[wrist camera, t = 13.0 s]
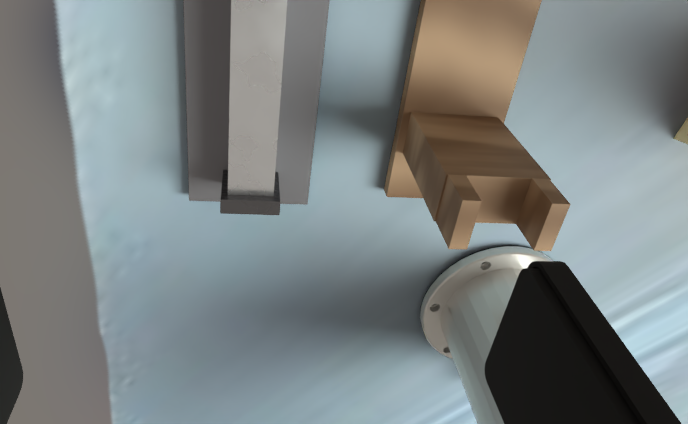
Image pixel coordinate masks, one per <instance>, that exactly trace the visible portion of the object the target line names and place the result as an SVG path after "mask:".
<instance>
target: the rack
mask: <svg viewBox="0 0 688 424" xmlns="http://www.w3.org/2000/svg"><path fill="white" fill-rule="evenodd" d="M541 1H542V0H421V2H420V7H419V12H418V17H417V22H416V27H415V33H414V38H413V43H412V48H411V53H410V58H409V63H408V69H407V74H406V79H405V84H404V89H403V94H402V99H401V104H400V110H399V115H398V120H397V125H396V130H395V135H394V140H393V146H392V151H391V156H390V161H389V166H388V171H387V176H386V182H385V187H384V191H385V193H386V196H387V197H407V198H424V200H425V203H426V205H427V207H428V209H429V211H430V213H431V216H432V218H433V220H434V221H436V223H437V225H438V227H439V229H440V231H441V233H442V236H443V238H444V240H445V242H446V244H447V246H448V248H449V249H467V247H468V244H469V241H470V238H471V234H472V231H473V228H474V225H475V222H476V223H510V224H517V226H518V227H519V229H520V230H521V232H522V233H523V235H524V236H525V238H526V239H527V241H528V242H529V244H530V245H531V247H532V248H533V250H534V251H551V250H552V247H553V245H554V243H555V240H556V238H557V235H558V233H559V231H560V228H561V226H562V223H563V221H564V218H565V216H566V214H567V211H568V209H569V206H570V203H569V202H568V201H567V200H566V199H565V197H564V196H563V195H562V194H561V193H560V191H559V190H558V189H557V188H556V187H555V186H554V184H553V183H552V182H551V181H550V180H551V179H550V178H549V177H548V175H547V174H546V173H545V172H544V171H543V169H542V168H541V167H540V166H539V165H538V164H537V162H536V161H535V160H534V159H533V158H532V157H531V155H530V154H529V153H528V152H527V151H526V149H525V148H524V147H523V146H522V145H521V144H520V142H519V141H518V140H517V139H516V138H515V137H514V135H513V134H512V133H511V132H510V131H509V129H508V128H507V127H506V126H505V125H504V121H505V118H506V114H507V111H508V108H509V105H510V101H511V98H512V95H513V92H514V88H515V85H516V82H517V79H518V75H519V72H520V69H521V66H522V62H523V59H524V56H525V53H526V49H527V46H528V43H529V40H530V36H531V33H532V30H533V27H534V23H535V20H536V17H537V14H538V10H539V7H540V4H541Z"/></svg>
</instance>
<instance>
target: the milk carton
mask: <svg viewBox="0 0 688 424" xmlns="http://www.w3.org/2000/svg"><path fill="white" fill-rule="evenodd" d="M673 139H676V140H678V141H681V142H683V143H686V144H688V118H687V119H686V121H685V122H684V124H683V125H682V127H681V128H680V130H679V131H678V132H677V134H676V135H675V137H674V138H673Z"/></svg>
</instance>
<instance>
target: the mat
mask: <svg viewBox="0 0 688 424" xmlns="http://www.w3.org/2000/svg"><path fill="white" fill-rule="evenodd" d="M183 4H184V39H185V74H186V109H187V145H188V180H189V200H190V201H220V202H221V189H222V177H223V170H228V149H229V94H230V39H231V0H183ZM328 9H329V0H287V13H286V27H285V41H284V56H283V70H282V84H281V98H280V112H279V126H278V140H277V154H276V168H275V172H278V176H279V190H280V204H307V202H308V193H309V184H310V175H311V165H312V156H313V147H314V138H315V129H316V119H317V110H318V101H319V92H320V83H321V74H322V64H323V55H324V46H325V37H326V28H327V18H328Z"/></svg>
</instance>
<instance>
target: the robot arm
mask: <svg viewBox="0 0 688 424" xmlns="http://www.w3.org/2000/svg"><path fill="white" fill-rule="evenodd" d="M420 320H421V325H422V329H423V331H424V334H425V337H426V339H427V340H428V342H429V343H430V345H431V346H432V347H433V348H434V349H435V350H437V351H438V352H439V353H441V354H443V355H445V356H447V357H449V358H452V359H453V360H454V363H455V365H456V368H457V371H458V373H459V376H460V379H461V381H462V384H463V387H464V389H465V392H466V394H467V397H468V400H469V402H470V405H471V408H472V410H473V413H474V416H475V418H476V421H477V424H681V422H680V421H679V420H678V418H677V417H676V416H675V414H674V413H673V411H672V410H671V409H670V407H669V406H668V404H667V403H666V402H665V400H664V399H663V397H662V396H661V395H660V393H659V392H658V391H657V389H656V388H655V386H654V385H653V384H652V382H651V381H650V379H649V378H648V377H647V375H646V374H645V373H644V371H643V370H642V368H641V367H640V366H639V364H638V363H637V361H636V360H635V359H634V357H633V356H632V354H631V353H630V352H629V350H628V349H627V348H626V346H625V345H624V343H623V342H622V341H621V339H620V338H619V336H618V335H617V334H616V332H615V331H614V329H613V328H612V327H611V325H610V324H609V323H608V321H607V320H606V318H605V317H604V316H603V314H602V313H601V311H600V310H599V309H598V307H597V306H596V304H595V303H594V302H593V300H592V299H591V298H590V296H589V295H588V293H587V292H586V291H585V289H584V288H583V286H582V285H581V284H580V282H579V281H578V280H577V278H576V277H575V275H574V274H573V273H572V271H571V270H570V268H569V267H568V266H567V265H566V264H565V263H563V262H560V261H553V260H552V259H550V258H549V257H548V256H546V255H545V254H543V253H541V252H539V251H534V250H533V249H530V248H525V247H518V246H504V247H497V248H491V249H487V250H484V251H480V252H477V253H475V254H472V255H470V256H468V257H466V258H463V259H462V260H460V261H458V262H457V263H455V264H454V265H452V266H450V267H449V268H448V269H447V270H446V271H444V272H443V273H442V274H441V275H440V276H439V277H438V278H437V279H436V280H435V282H434V283H433V284H432V285H431V286H430V288H429V290H428V291H427V293H426V295H425V297H424V299H423V303H422V306H421V312H420ZM22 382H23V370H22V366H21V362H20V358H19V355H18V351H17V347H16V343H15V340H14V336H13V332H12V329H11V325H10V321H9V318H8V314H7V311H6V307H5V303H4V299H3V296H2V292H1V288H0V424H7V421H8V419H9V417H10V414H11V412H12V410H13V407H14V404H15V403H16V400H17V398H18V395H19V393H20V390H21V387H22Z"/></svg>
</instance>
